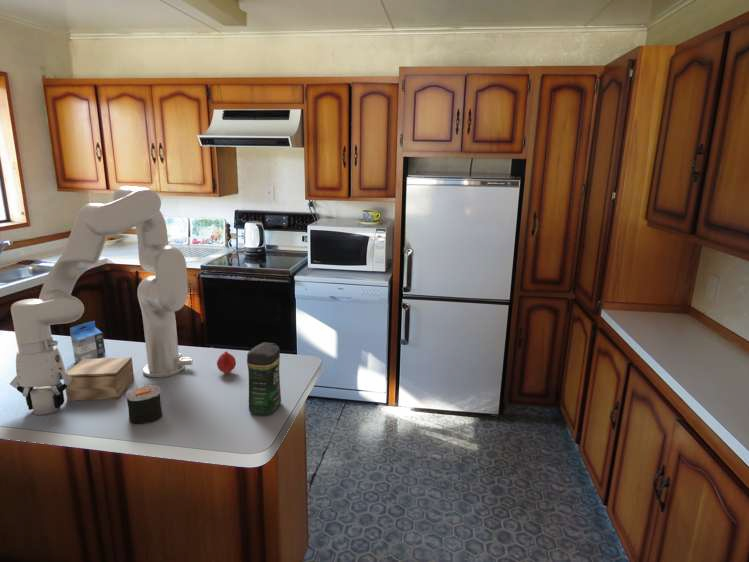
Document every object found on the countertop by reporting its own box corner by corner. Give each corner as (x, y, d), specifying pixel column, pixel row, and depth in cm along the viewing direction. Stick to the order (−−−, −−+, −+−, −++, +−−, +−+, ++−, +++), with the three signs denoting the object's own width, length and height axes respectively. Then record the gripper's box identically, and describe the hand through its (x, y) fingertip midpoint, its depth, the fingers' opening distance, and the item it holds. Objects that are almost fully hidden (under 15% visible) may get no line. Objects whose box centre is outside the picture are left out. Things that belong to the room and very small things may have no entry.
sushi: (165, 419, 125) (162, 392, 123) (130, 427, 120) (127, 399, 118) (160, 406, 131) (157, 380, 129) (127, 413, 127) (124, 387, 125)
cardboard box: (134, 379, 146) (131, 359, 145) (119, 398, 135) (116, 376, 133) (86, 381, 145) (83, 360, 143) (67, 400, 133) (63, 378, 131)
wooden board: (131, 359, 145) (131, 357, 145) (116, 375, 133) (115, 373, 133) (83, 360, 143) (83, 358, 143) (63, 376, 131) (63, 374, 131)
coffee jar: (272, 418, 126) (269, 354, 122) (245, 415, 127) (241, 351, 123) (285, 401, 135) (283, 341, 131) (259, 398, 137) (256, 338, 132)
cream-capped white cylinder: (64, 403, 131) (61, 383, 130) (53, 414, 125) (49, 394, 124) (41, 404, 130) (37, 384, 129) (28, 415, 125) (25, 395, 123)
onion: (213, 375, 150) (212, 352, 148) (225, 368, 156) (224, 346, 154) (228, 379, 148) (227, 355, 146) (240, 371, 154) (238, 349, 152)
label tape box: (81, 363, 157) (76, 329, 154) (74, 361, 159) (69, 327, 156) (106, 354, 165) (101, 321, 162) (98, 352, 167) (94, 320, 164)
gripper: (77, 339, 128) (86, 398, 132) (9, 341, 126) (20, 401, 130) (63, 349, 121) (73, 412, 125) (-10, 352, 119) (3, 415, 123)
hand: (46, 406), depth 128 cm, fingers closed on cream-capped white cylinder, 6 cm apart
